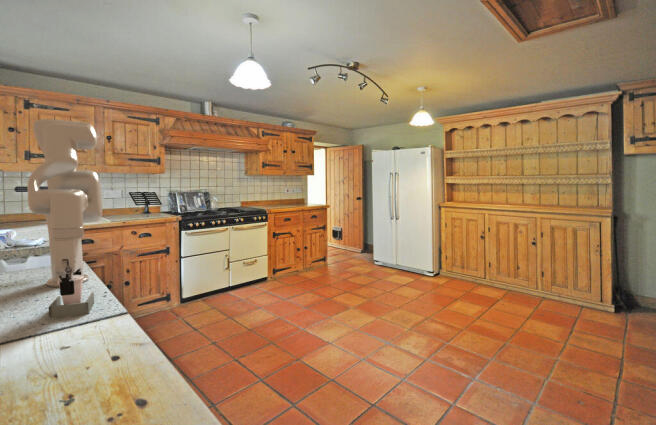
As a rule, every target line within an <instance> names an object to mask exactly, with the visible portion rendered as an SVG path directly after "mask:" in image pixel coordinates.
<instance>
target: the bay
mask: <svg viewBox="0 0 656 425" xmlns="http://www.w3.org/2000/svg"><path fill="white" fill-rule="evenodd" d="M93 304H94V305H95V294H94V292H91V293H90V294H89V296H88V298H87V300H86V301H85V302H81V303H74V304H66V305H64V304H61V295H60V296H57V297H56V298H55V299H54V300H53V301H52V302H51V304H50V305H49V306H48V316H49V318H48V320H53V319H52V318H54V319H60V317H62V318H67V317H68V316H69V317H75V316H74V315H77V316H81V315H82V316H84V315H90V312H91V310H92V309H93V306H94V305H93ZM83 314H84V315H83ZM69 317H68V318H69Z"/></svg>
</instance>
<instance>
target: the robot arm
mask: <svg viewBox="0 0 656 425" xmlns="http://www.w3.org/2000/svg"><path fill="white" fill-rule="evenodd" d="M32 130H33V135H34V137H35V140H36V142H37V144H38V146H39V148H40V150H41V152H42V153H43V156H44V161H43V163H41V164H40V165H38V167H36V168H35V169H34V170H33V171H32V172H31V174H30V175H29V177H28V180H27V204H28V208H29V210H30V211H31V213H33V214H36V215H40V216H41V215H43V216H44V218H45V222H46V225H47V231H48V242H49V256H50V268H51V269H50V270H51V278H50V279H48V280H47V281H46V285H47V286H48V287H54V288H55V287H57V288H58V287H59V284H57V280H58V279H59V278H60V280H59V283H60V287H59V294H60V297H62V296H64V295H73V294H74V293H75V292H74V280H73V281H72V278H73V275H82V276H84V280H83V282H82V284H83V283H85V282H87V281H88V280H89V278H90V276H89V275H88V274H85V273H84V261H83V259H84V258H83V245H82V242H83V241H82V238H85V229H84V224H90V223H97V222H100V221H101V219H102V218H103V202H102V201H103V200H102V191H101V190H102V189H101V182H100V177H99V175H98V173H97V172H96V171H94V170H92V169H90V170H89V169H87V170H86V169H77V168H78V166H79V157H78V151H77V150H88V151H91V150H92V151H93V150H95V149H96V147H97V146H98V144H97V143H98V135H97V131H96V130H95V128H94V126H93V125H92V124H91V123H89V122H85V121H84V122H83V121H74V120H65V119H54V118H53V119H52V118H51V119H50V118H42V119H37V120H35V121H34V122H33V125H32ZM45 182H46V186H47V189H46V188H45V189H40V186H41V185H42V184H43V183H45Z"/></svg>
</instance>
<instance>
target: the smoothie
mask: <svg viewBox="0 0 656 425" xmlns="http://www.w3.org/2000/svg"><path fill="white" fill-rule="evenodd" d="M59 280H60V278H59V279H58V280H57V284H59V288H60V283H59ZM73 280H74V292H75V293H74V294H73V295H64V296H61V300H62V302H63V304H62V305H66V304H74V303H82V294H83V293H82V292H83V283H84V282H83V280H84V276H82V275H73V278H72V281H73ZM82 282H83V283H82Z"/></svg>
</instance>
